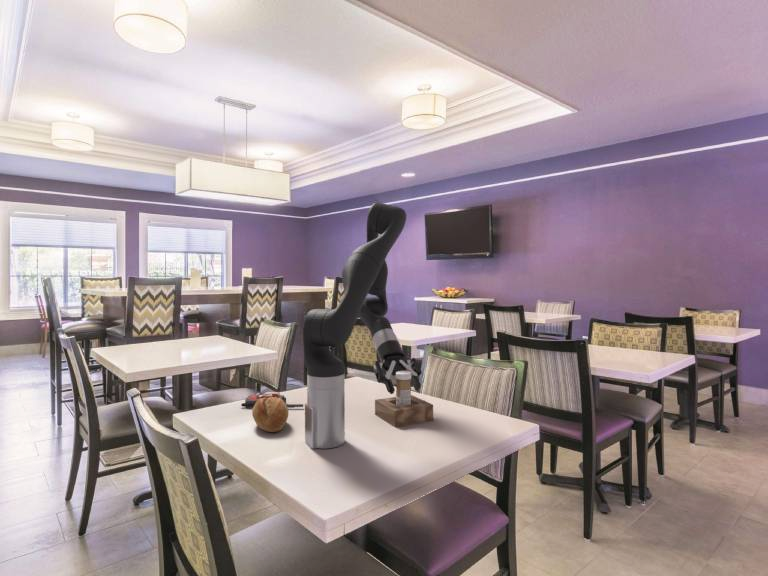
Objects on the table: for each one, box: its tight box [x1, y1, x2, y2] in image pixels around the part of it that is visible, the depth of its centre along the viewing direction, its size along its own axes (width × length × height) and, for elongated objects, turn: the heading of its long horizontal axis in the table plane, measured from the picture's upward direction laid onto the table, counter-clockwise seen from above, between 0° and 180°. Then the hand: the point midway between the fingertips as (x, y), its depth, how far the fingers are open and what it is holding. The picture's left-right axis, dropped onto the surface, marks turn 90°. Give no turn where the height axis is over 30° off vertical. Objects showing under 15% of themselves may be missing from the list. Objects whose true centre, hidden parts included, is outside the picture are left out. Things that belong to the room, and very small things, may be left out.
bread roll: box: [251, 397, 289, 433], centre depth 123 cm, size 10×15×8 cm, turn 20°
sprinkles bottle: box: [395, 370, 412, 407], centre depth 131 cm, size 5×5×13 cm
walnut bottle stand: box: [374, 394, 434, 428], centre depth 131 cm, size 13×13×4 cm
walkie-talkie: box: [240, 391, 304, 409], centre depth 143 cm, size 9×4×20 cm
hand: (405, 390), depth 130 cm, fingers open, 8 cm apart
